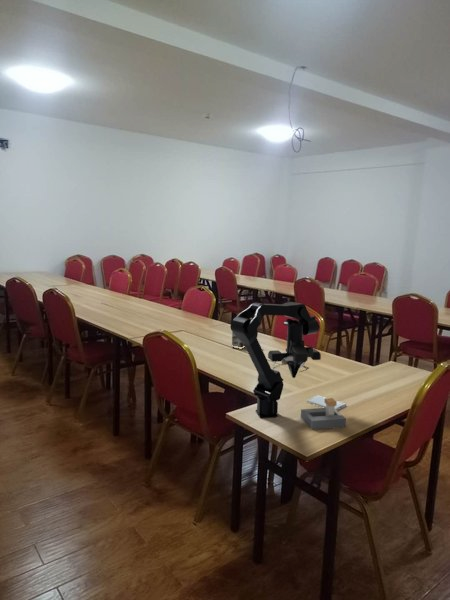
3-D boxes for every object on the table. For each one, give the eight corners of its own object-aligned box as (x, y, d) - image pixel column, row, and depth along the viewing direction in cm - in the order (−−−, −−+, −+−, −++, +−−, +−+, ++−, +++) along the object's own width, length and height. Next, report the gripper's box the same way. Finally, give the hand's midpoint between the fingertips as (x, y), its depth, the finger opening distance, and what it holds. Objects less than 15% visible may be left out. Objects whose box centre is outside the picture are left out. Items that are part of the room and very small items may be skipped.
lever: (328, 420, 147) (328, 402, 146) (323, 416, 150) (324, 398, 150) (335, 419, 148) (336, 401, 147) (331, 415, 151) (332, 398, 150)
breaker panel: (311, 429, 143) (312, 420, 142) (300, 417, 152) (301, 408, 152) (345, 427, 145) (346, 417, 145) (332, 415, 155) (332, 406, 154)
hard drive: (306, 399, 167) (335, 408, 158) (318, 394, 173) (346, 402, 164) (306, 404, 167) (334, 412, 158) (318, 398, 173) (346, 407, 164)
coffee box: (241, 349, 247) (241, 322, 245) (231, 348, 251) (231, 320, 249) (248, 346, 255) (249, 319, 253) (239, 345, 258) (239, 318, 256)
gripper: (277, 342, 150) (276, 386, 152) (328, 340, 154) (326, 383, 156) (268, 335, 161) (267, 376, 163) (315, 334, 164) (313, 374, 166)
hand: (293, 377), depth 162 cm, fingers closed
